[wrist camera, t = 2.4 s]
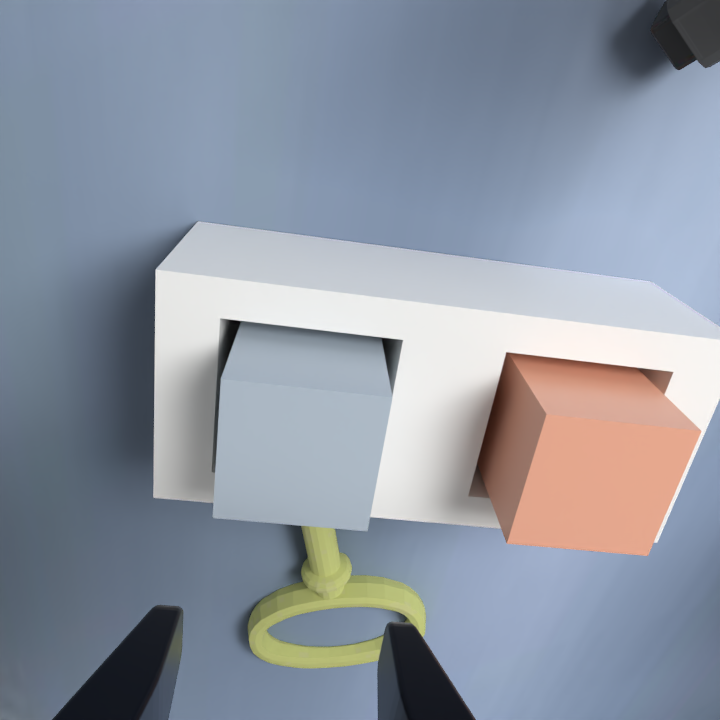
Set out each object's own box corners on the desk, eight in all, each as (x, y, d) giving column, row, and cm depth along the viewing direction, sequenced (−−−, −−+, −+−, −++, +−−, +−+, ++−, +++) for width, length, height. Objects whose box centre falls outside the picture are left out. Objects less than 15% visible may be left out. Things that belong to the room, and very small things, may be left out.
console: (592, 448, 23) (657, 542, 18) (190, 407, 21) (153, 497, 17) (651, 281, 20) (743, 342, 16) (198, 221, 19) (155, 269, 14)
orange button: (580, 452, 20) (647, 555, 15) (468, 440, 19) (507, 543, 15) (616, 347, 18) (702, 431, 14) (496, 333, 18) (546, 414, 14)
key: (310, 396, 22) (308, 428, 20) (439, 623, 27) (447, 666, 25) (134, 471, 23) (116, 509, 21) (290, 676, 28) (286, 722, 26)
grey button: (359, 429, 19) (367, 531, 15) (239, 417, 19) (212, 518, 14) (377, 319, 17) (392, 397, 13) (247, 303, 17) (220, 378, 13)
